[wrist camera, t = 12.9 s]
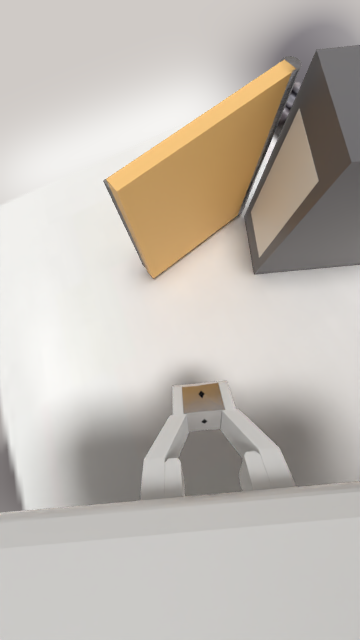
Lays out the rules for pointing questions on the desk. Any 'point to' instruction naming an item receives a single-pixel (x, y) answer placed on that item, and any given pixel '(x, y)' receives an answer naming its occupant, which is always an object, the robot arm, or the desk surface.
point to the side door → (200, 171)
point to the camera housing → (313, 174)
